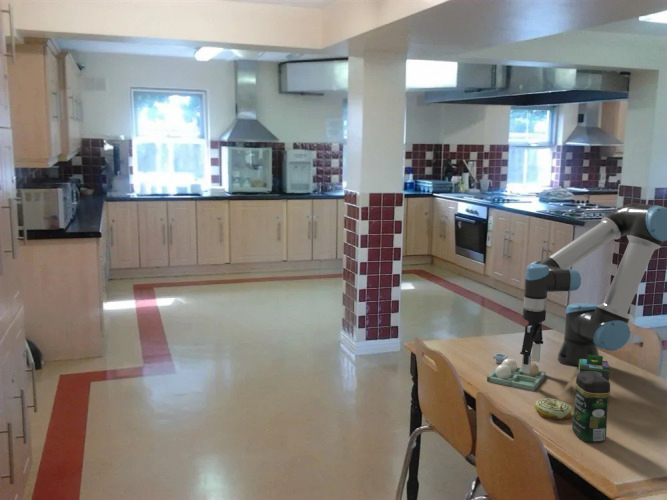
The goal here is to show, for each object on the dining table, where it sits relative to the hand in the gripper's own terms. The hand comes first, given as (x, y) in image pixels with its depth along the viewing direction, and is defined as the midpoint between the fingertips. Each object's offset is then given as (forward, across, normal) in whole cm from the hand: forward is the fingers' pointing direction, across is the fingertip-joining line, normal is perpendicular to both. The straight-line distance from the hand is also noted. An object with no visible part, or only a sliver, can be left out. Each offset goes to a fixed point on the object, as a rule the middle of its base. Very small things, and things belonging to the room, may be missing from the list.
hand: (530, 366), depth 219 cm
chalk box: (+5, -4, -21) cm, 22 cm away
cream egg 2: (+4, -8, +8) cm, 11 cm away
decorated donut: (+5, -25, -13) cm, 29 cm away
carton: (+5, -4, +4) cm, 7 cm away
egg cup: (+5, +10, +14) cm, 18 cm away
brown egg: (+4, 0, 0) cm, 4 cm away
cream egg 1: (+4, 0, +8) cm, 9 cm away
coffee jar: (+5, -35, -25) cm, 43 cm away
